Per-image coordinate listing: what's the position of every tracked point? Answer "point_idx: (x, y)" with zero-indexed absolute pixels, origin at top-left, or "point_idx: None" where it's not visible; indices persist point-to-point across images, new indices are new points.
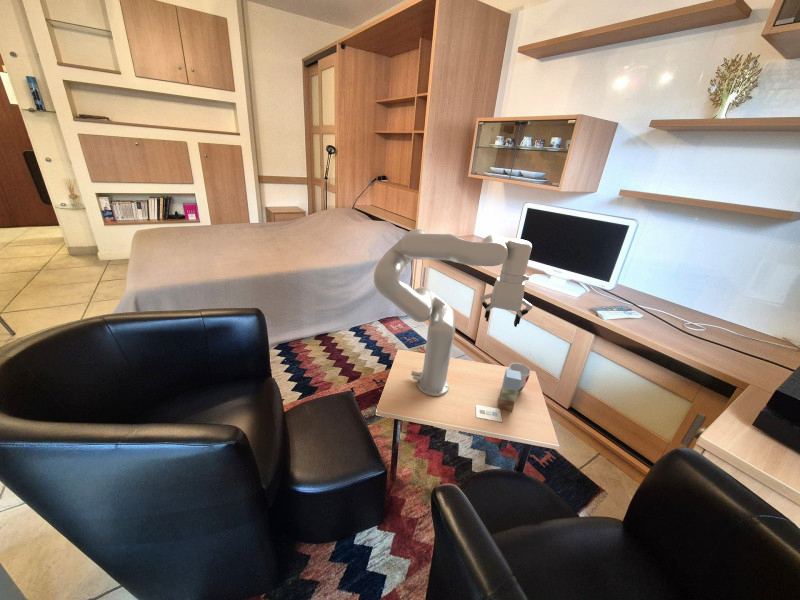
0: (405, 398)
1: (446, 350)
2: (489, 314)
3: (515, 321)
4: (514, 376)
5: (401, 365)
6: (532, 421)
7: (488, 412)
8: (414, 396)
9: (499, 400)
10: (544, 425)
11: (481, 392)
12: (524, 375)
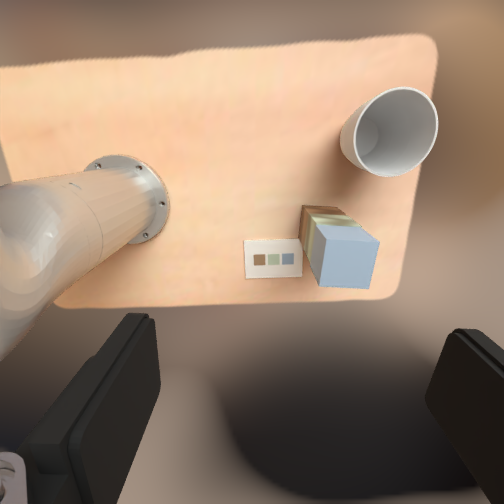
0: None
1: (63, 291)
2: (120, 488)
3: (466, 453)
4: (348, 276)
5: (4, 130)
6: None
7: (273, 258)
8: None
9: (302, 230)
10: (399, 259)
11: (259, 186)
12: (400, 174)
